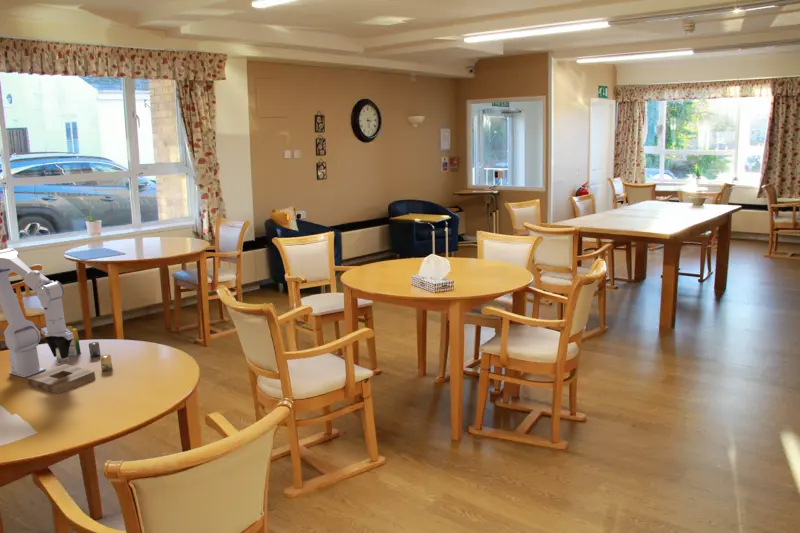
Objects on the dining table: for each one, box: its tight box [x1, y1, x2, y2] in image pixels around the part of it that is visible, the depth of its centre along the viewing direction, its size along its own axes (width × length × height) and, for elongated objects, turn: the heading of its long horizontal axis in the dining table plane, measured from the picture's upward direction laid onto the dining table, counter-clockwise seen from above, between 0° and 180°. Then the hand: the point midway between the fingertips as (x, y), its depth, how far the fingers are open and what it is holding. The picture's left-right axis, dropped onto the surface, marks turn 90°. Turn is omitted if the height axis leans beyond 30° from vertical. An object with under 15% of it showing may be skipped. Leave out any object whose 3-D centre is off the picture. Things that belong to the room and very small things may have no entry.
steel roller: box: [55, 347, 69, 364], centre depth 235 cm, size 4×4×5 cm
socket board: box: [26, 363, 96, 394], centre depth 235 cm, size 16×14×2 cm
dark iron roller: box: [88, 341, 102, 359], centre depth 258 cm, size 4×4×5 cm
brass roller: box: [99, 354, 114, 373], centre depth 244 cm, size 4×4×5 cm
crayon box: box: [66, 325, 82, 357], centre depth 260 cm, size 7×3×12 cm, turn 85°
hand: (61, 356), depth 235 cm, fingers closed on steel roller, 3 cm apart
